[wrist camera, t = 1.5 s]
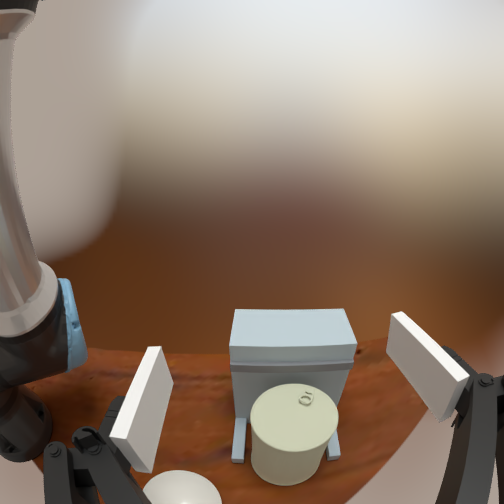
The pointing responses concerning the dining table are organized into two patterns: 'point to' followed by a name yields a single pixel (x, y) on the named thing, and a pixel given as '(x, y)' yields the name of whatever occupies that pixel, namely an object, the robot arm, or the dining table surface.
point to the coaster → (181, 489)
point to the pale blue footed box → (287, 359)
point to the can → (291, 432)
